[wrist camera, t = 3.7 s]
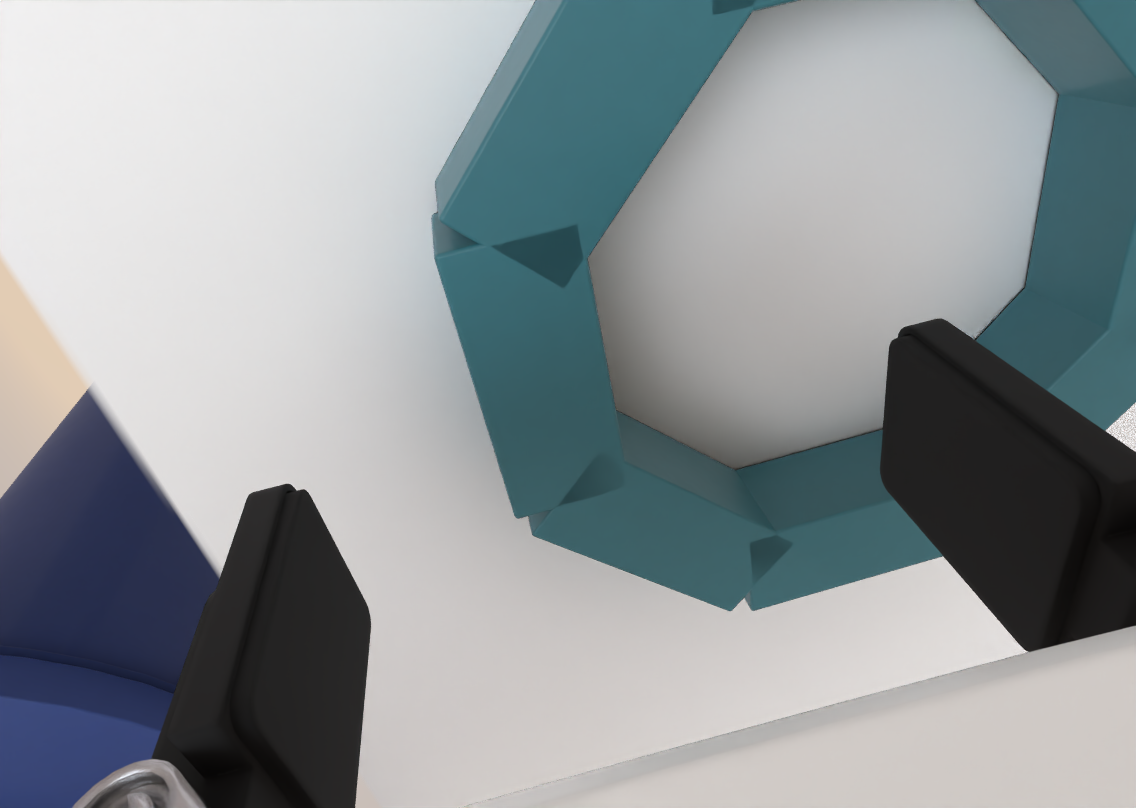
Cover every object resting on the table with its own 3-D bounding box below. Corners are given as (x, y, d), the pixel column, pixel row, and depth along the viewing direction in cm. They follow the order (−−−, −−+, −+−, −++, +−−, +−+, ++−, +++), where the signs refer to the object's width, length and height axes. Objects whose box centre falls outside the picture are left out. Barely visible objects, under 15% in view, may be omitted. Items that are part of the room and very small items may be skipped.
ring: (545, 593, 22) (561, 667, 19) (337, -93, 12) (319, -110, 10) (1073, 444, 23) (1149, 497, 20) (1256, -297, 13) (1438, -357, 11)
